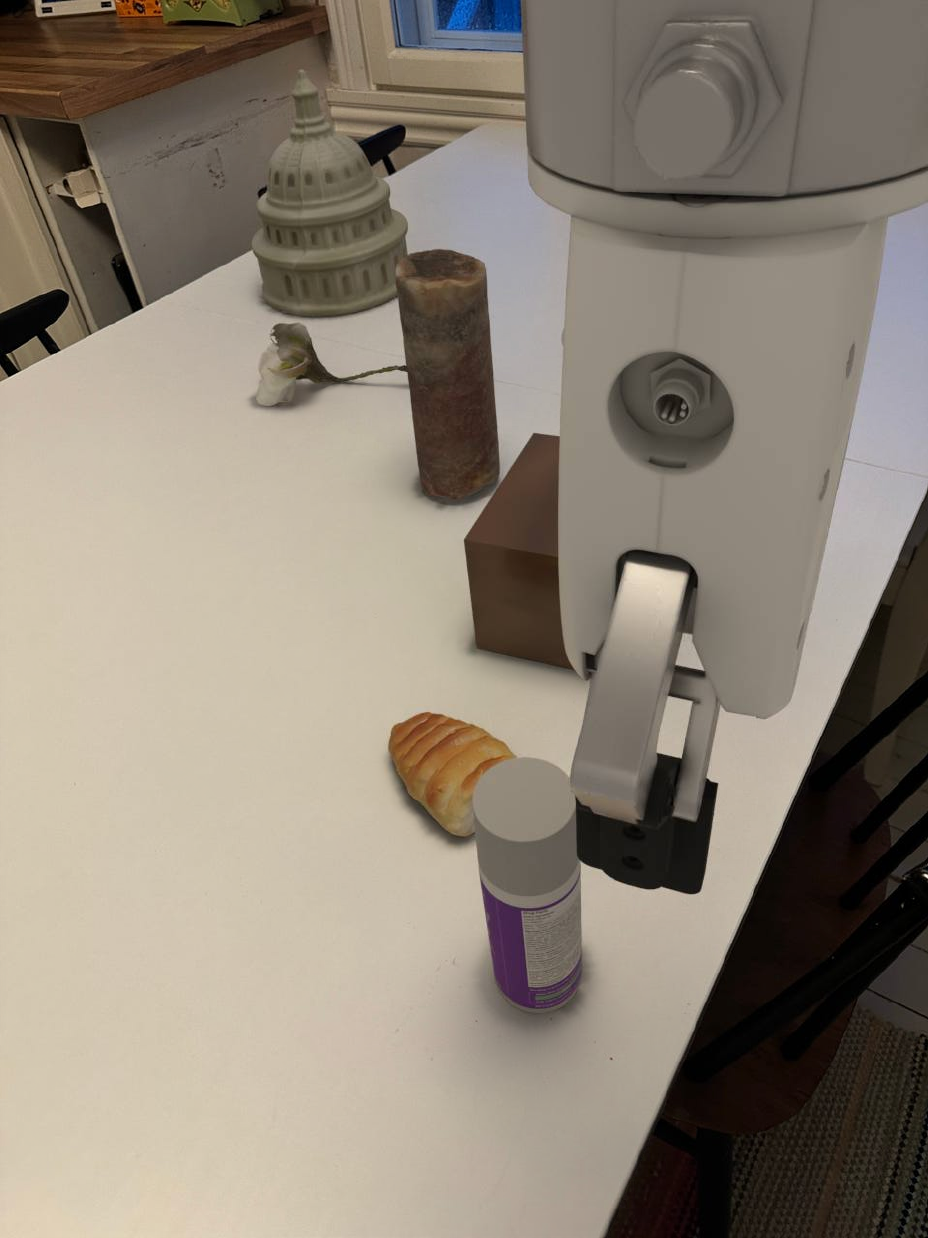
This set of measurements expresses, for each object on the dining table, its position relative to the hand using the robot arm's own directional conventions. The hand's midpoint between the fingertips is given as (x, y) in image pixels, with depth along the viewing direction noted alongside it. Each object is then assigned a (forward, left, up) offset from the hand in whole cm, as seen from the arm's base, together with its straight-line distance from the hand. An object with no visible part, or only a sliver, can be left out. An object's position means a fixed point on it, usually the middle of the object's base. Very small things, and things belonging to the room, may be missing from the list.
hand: (680, 733), depth 27 cm
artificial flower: (+47, -59, -26) cm, 80 cm away
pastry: (+16, -14, -26) cm, 33 cm away
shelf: (+14, -33, -26) cm, 44 cm away
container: (+7, -4, -26) cm, 27 cm away
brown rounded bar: (+29, -46, -26) cm, 60 cm away
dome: (+63, -85, -26) cm, 109 cm away
